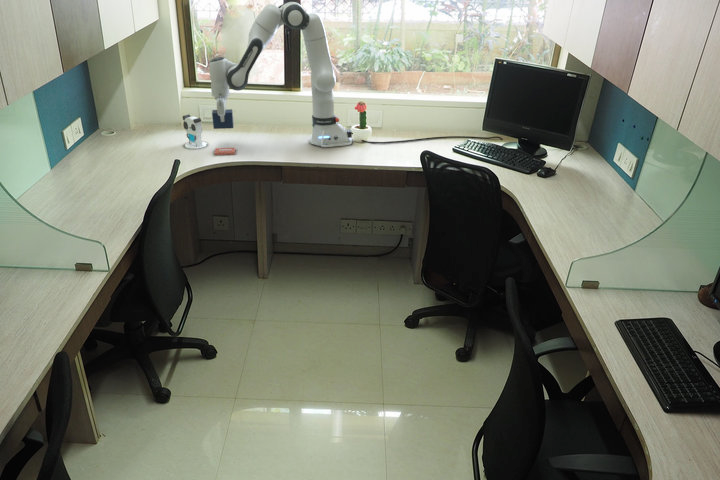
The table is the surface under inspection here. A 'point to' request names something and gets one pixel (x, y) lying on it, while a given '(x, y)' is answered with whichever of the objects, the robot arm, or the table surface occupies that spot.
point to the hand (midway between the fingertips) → (223, 119)
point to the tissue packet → (224, 151)
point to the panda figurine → (193, 132)
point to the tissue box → (227, 120)
